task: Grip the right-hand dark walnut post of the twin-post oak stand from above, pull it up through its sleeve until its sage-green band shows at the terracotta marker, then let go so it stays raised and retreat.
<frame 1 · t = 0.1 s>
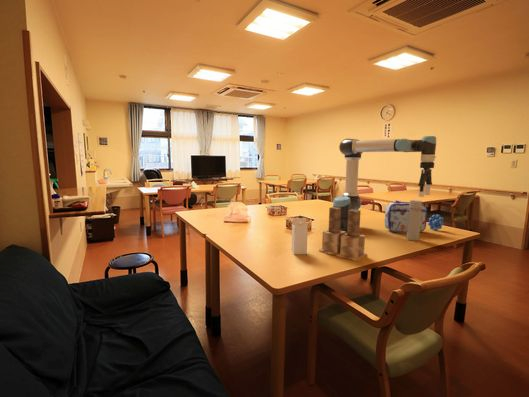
hand: (424, 195, 178), 28 cm above the table, tool pointing down, fingers open, 13 cm apart
lunch box: (403, 231, 201), on the table
tall beige block: (411, 239, 181), on the table
right post: (353, 232, 148), point 13 cm above the table, slide at 0.0 cm
stand: (342, 253, 154), on the table
milk carton: (299, 252, 155), on the table
left post: (334, 228, 156), point 13 cm above the table, slide at 0.0 cm
blue bumpy wheel: (435, 230, 205), on the table
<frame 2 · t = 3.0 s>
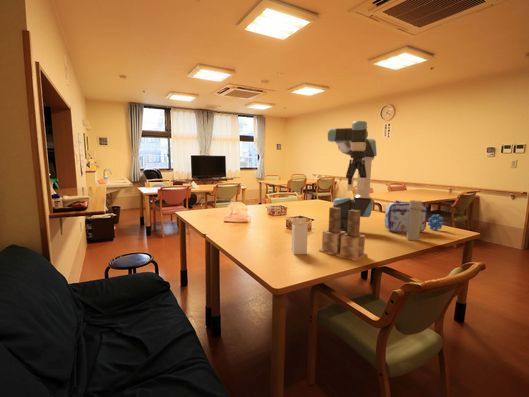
hand: (355, 190, 156), 34 cm above the table, tool pointing down, fingers open, 13 cm apart
nothing on the table moved.
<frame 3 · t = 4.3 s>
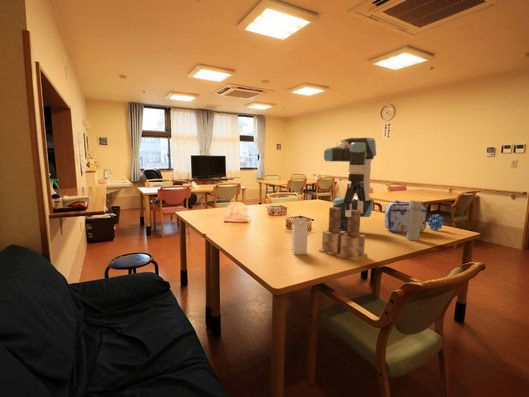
hand: (354, 214, 147), 22 cm above the table, tool pointing down, fingers open, 13 cm apart
nothing on the table moved.
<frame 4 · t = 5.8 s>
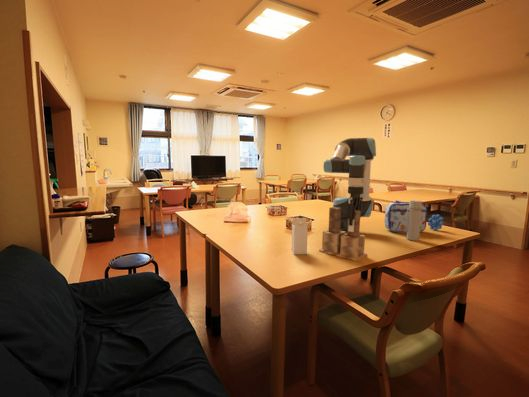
hand: (353, 230, 148), 14 cm above the table, tool pointing down, fingers closed on right post, 4 cm apart
right post: (353, 232, 148), point 13 cm above the table, slide at 0.0 cm, touching gripper
everything else where it was.
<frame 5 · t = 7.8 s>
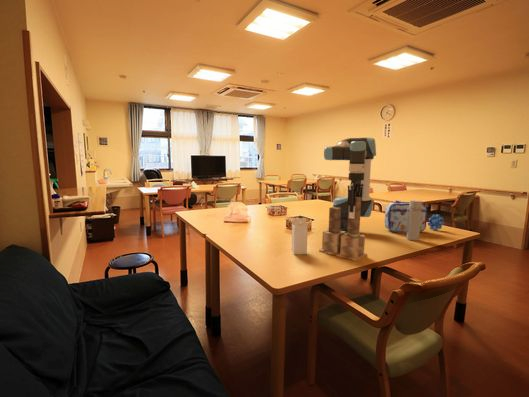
hand: (354, 217, 147), 21 cm above the table, tool pointing down, fingers closed on right post, 4 cm apart
right post: (354, 219, 147), point 20 cm above the table, slide at 7.0 cm, touching gripper
everything else where it was.
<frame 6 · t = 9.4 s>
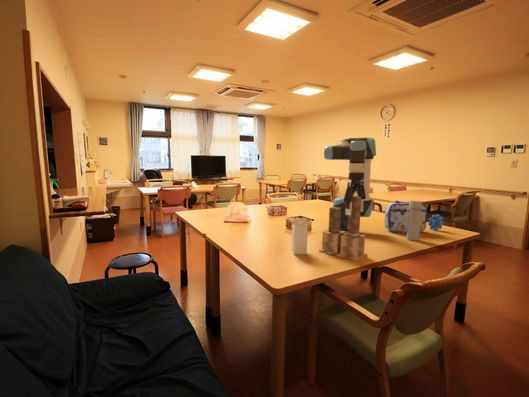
hand: (354, 213, 147), 23 cm above the table, tool pointing down, fingers open, 13 cm apart
right post: (354, 218, 147), point 20 cm above the table, slide at 7.2 cm
everything else where it was.
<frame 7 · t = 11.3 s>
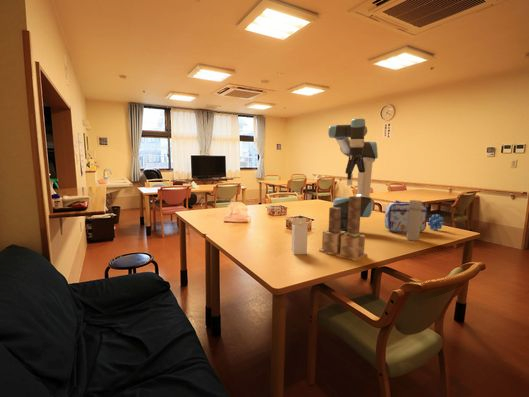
hand: (354, 184, 164), 36 cm above the table, tool pointing down, fingers open, 13 cm apart
nothing on the table moved.
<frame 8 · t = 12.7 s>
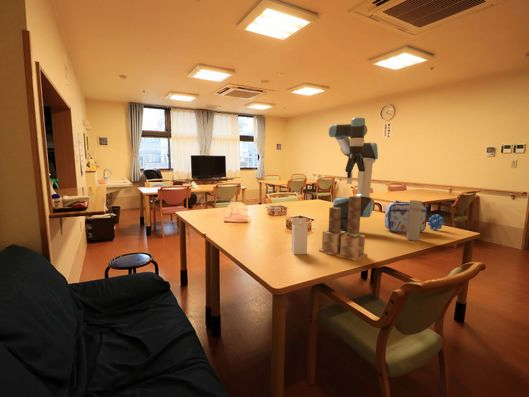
hand: (354, 183, 165), 37 cm above the table, tool pointing down, fingers open, 13 cm apart
nothing on the table moved.
at the end: right post slide at 7.2 cm; left post slide at 0.0 cm; the gripper is holding nothing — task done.
